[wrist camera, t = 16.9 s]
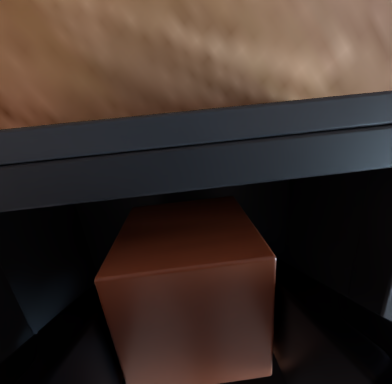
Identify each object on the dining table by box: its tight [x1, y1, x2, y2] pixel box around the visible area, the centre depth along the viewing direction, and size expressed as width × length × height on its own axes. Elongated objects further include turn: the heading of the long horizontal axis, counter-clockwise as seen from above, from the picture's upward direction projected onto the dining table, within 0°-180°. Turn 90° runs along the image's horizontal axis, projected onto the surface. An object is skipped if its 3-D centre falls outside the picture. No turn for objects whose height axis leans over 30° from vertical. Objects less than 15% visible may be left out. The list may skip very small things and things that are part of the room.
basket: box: [0, 91, 392, 384], centre depth 9 cm, size 8×13×10 cm
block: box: [94, 196, 276, 384], centre depth 7 cm, size 4×4×4 cm
